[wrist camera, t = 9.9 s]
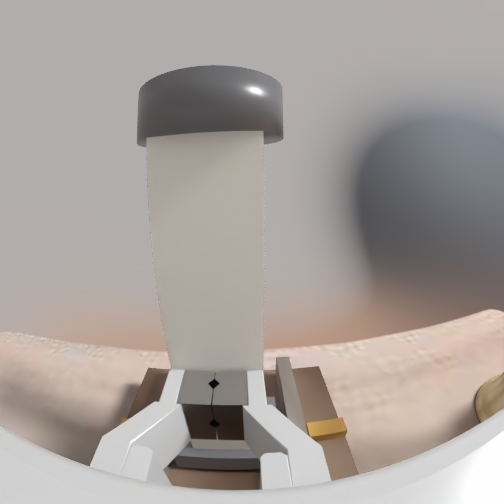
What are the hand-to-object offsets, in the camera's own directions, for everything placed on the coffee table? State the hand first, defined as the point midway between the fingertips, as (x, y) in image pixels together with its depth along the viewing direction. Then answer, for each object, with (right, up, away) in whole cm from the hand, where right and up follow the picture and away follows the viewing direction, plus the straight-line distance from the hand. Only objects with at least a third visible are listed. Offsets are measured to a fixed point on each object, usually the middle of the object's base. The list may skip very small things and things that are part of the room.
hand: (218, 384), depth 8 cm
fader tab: (0, -5, +3) cm, 6 cm away
